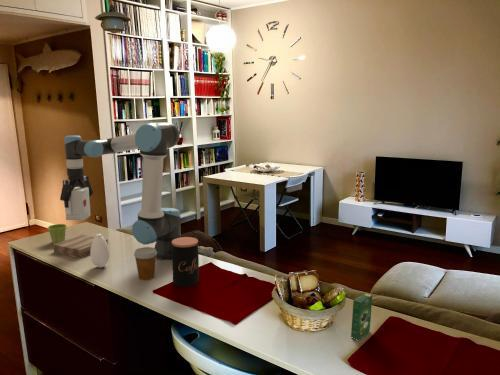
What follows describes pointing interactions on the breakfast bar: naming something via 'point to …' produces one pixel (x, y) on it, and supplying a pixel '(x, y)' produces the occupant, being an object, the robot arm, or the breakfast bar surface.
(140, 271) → the disposable coffee cup
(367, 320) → the coffee box
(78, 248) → the walnut riser
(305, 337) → the breakfast bar surface
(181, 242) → the coffee jar
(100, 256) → the white teardrop-shaped piece
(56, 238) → the plant pot
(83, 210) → the supplement box
